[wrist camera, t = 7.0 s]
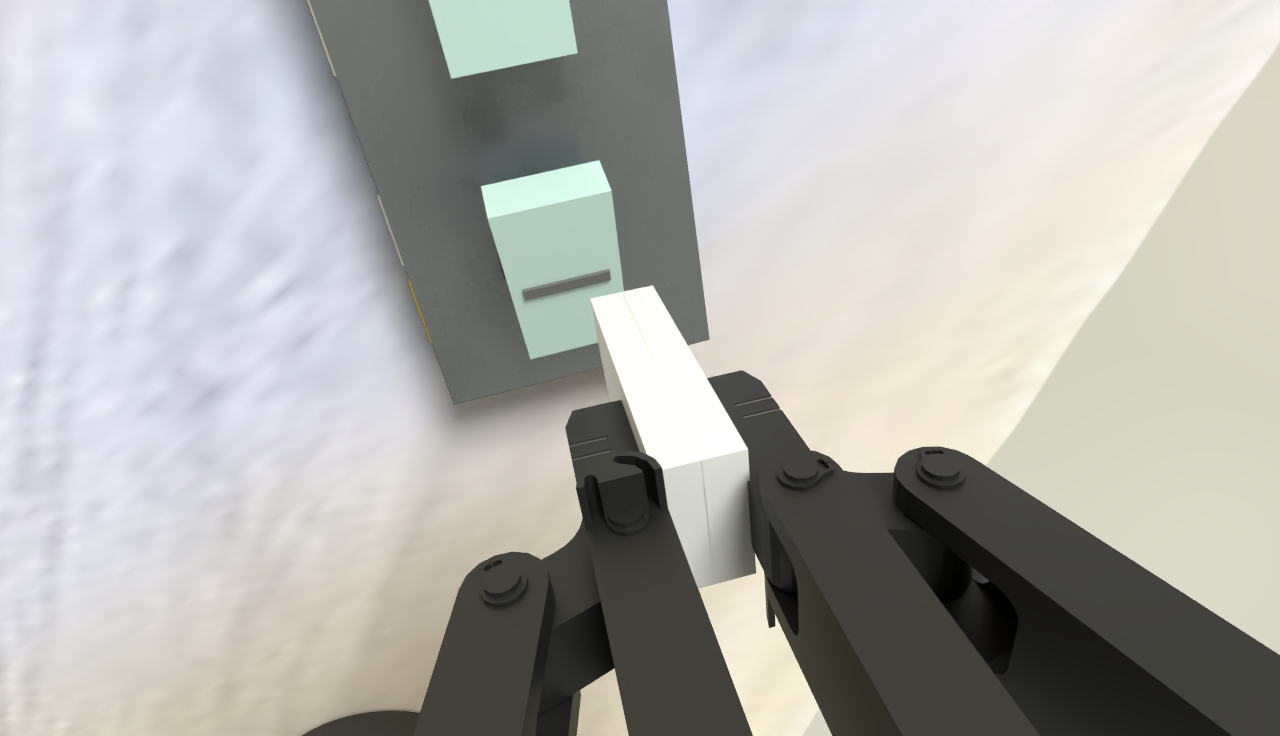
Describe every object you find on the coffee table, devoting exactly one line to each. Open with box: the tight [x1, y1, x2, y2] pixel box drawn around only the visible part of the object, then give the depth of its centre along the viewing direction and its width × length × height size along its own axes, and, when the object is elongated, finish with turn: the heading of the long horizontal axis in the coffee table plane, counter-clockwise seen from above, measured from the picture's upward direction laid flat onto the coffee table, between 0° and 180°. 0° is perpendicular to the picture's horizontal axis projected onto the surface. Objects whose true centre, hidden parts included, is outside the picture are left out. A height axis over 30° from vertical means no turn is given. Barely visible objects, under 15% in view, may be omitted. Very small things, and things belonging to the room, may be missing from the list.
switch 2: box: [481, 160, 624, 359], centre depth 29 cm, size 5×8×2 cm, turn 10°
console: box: [307, 0, 709, 405], centre depth 30 cm, size 13×25×6 cm, turn 10°
